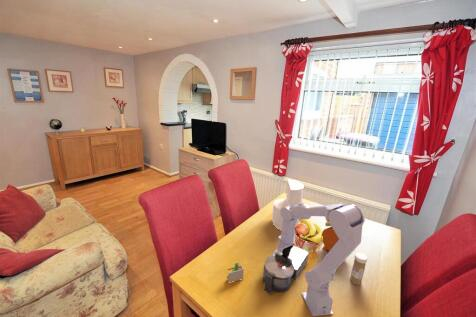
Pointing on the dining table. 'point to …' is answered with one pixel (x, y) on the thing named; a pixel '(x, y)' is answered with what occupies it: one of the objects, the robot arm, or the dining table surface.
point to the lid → (280, 266)
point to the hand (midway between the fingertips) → (285, 257)
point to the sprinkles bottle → (358, 268)
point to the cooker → (284, 284)
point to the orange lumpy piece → (329, 237)
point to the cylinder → (288, 201)
